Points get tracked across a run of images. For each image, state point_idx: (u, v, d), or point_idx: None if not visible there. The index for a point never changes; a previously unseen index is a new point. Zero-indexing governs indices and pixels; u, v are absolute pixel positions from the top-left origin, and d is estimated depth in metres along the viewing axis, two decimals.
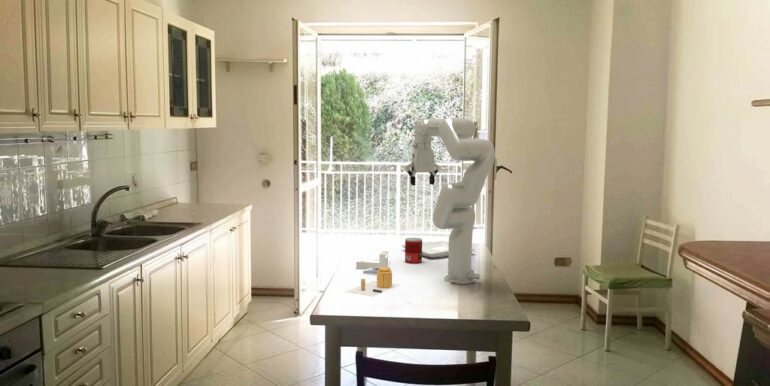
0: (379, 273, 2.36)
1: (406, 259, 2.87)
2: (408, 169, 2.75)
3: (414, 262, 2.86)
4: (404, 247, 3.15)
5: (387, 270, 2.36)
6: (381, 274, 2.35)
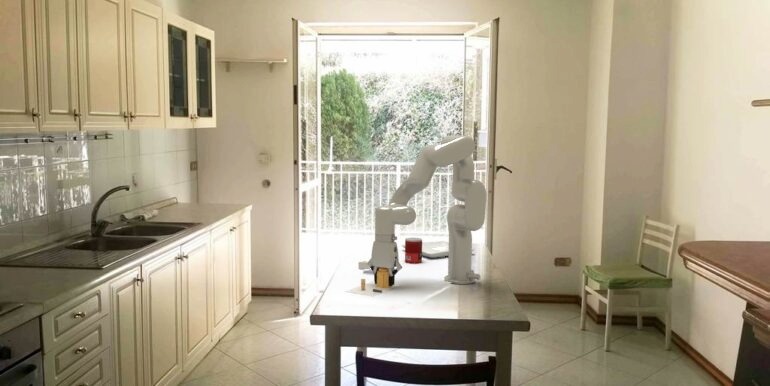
0: (379, 273, 2.36)
1: (406, 259, 2.87)
2: None
3: (414, 262, 2.86)
4: (404, 247, 3.15)
5: (387, 270, 2.36)
6: (381, 274, 2.35)
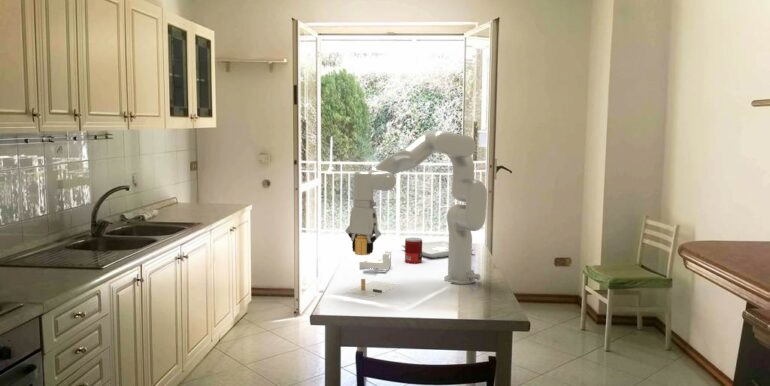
0: (357, 240, 2.29)
1: (406, 259, 2.87)
2: None
3: (414, 262, 2.86)
4: (404, 247, 3.15)
5: (365, 237, 2.29)
6: (359, 241, 2.28)
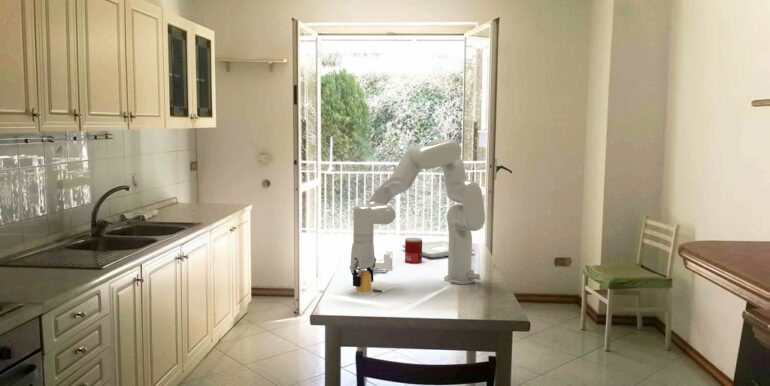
0: (368, 276, 2.30)
1: (406, 259, 2.87)
2: None
3: (414, 262, 2.86)
4: (404, 247, 3.15)
5: None
6: (370, 277, 2.31)
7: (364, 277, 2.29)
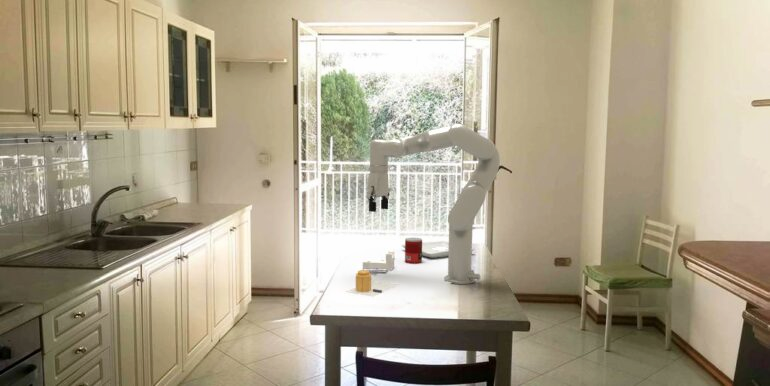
0: (368, 276, 2.30)
1: (406, 259, 2.87)
2: None
3: (414, 262, 2.86)
4: (404, 247, 3.15)
5: None
6: (370, 277, 2.31)
7: (364, 277, 2.29)
